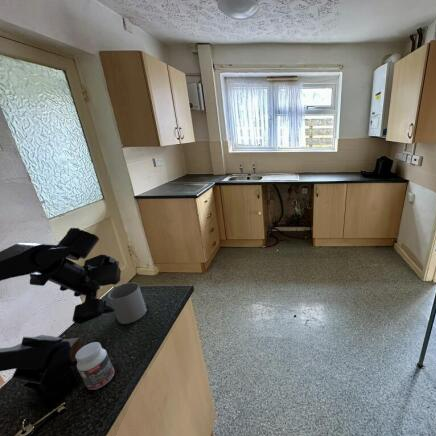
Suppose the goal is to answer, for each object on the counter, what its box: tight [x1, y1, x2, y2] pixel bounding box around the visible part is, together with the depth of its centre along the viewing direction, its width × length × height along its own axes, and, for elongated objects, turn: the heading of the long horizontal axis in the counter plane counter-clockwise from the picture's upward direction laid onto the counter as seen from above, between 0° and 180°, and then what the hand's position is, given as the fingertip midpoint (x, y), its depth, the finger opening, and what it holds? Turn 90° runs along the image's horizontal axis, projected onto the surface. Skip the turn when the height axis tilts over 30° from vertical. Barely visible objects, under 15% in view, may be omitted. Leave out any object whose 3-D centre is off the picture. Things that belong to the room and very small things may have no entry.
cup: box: [107, 281, 148, 325], centre depth 79 cm, size 8×8×10 cm
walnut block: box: [62, 337, 84, 364], centre depth 65 cm, size 4×4×4 cm
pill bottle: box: [75, 341, 115, 391], centre depth 58 cm, size 6×6×10 cm
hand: (114, 296), depth 71 cm, fingers open, 9 cm apart
